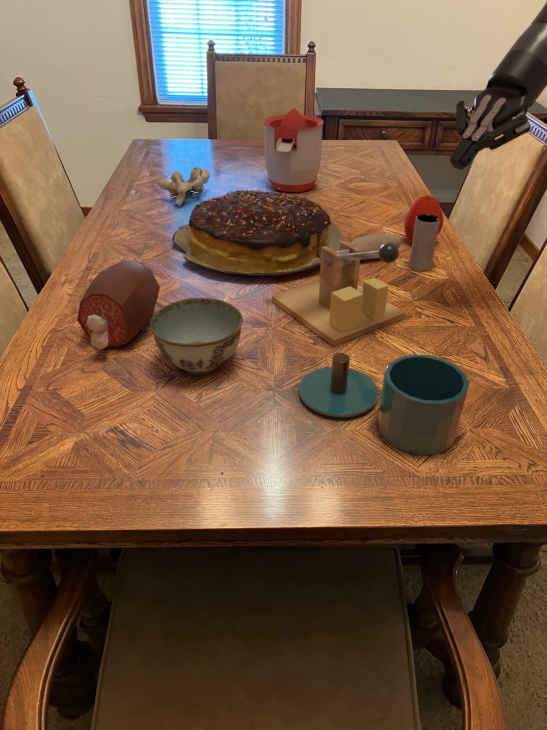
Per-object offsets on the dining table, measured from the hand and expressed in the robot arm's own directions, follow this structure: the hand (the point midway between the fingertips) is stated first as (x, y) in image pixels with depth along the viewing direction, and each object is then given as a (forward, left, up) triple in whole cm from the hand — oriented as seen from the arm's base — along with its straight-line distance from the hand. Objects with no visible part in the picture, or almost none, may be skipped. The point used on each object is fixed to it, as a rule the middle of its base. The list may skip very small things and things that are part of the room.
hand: (455, 165), depth 85 cm
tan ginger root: (+71, -31, -26) cm, 82 cm away
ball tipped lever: (+10, +8, -15) cm, 20 cm away
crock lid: (+6, +28, -26) cm, 38 cm away
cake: (+40, -14, -26) cm, 50 cm away
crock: (-6, +30, -26) cm, 40 cm away
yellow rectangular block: (+9, +5, -25) cm, 27 cm away
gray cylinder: (+6, -19, -26) cm, 33 cm away
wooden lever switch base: (+15, +5, -26) cm, 31 cm away
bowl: (+28, +30, -26) cm, 49 cm away
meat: (+45, +27, -26) cm, 59 cm away
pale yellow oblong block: (+12, +11, -25) cm, 30 cm away
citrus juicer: (+50, -52, -26) cm, 77 cm away
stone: (+16, -19, -26) cm, 37 cm away
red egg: (+9, -31, -26) cm, 42 cm away
